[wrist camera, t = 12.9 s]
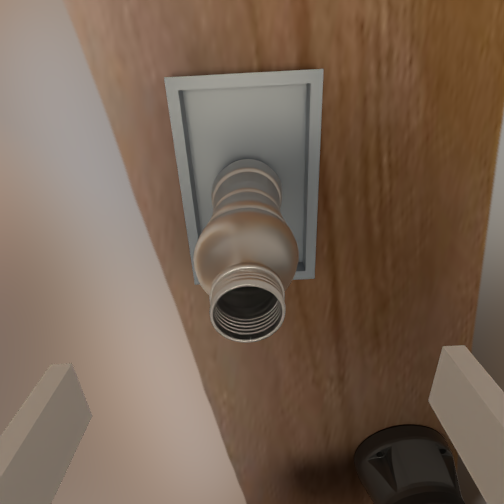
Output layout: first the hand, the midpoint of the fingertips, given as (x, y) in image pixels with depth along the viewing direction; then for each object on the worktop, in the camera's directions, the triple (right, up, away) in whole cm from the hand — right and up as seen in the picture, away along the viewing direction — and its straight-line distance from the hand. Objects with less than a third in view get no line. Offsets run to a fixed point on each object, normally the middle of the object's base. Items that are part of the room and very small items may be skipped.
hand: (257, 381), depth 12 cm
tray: (0, +12, +22) cm, 25 cm away
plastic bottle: (-1, +11, +22) cm, 24 cm away
